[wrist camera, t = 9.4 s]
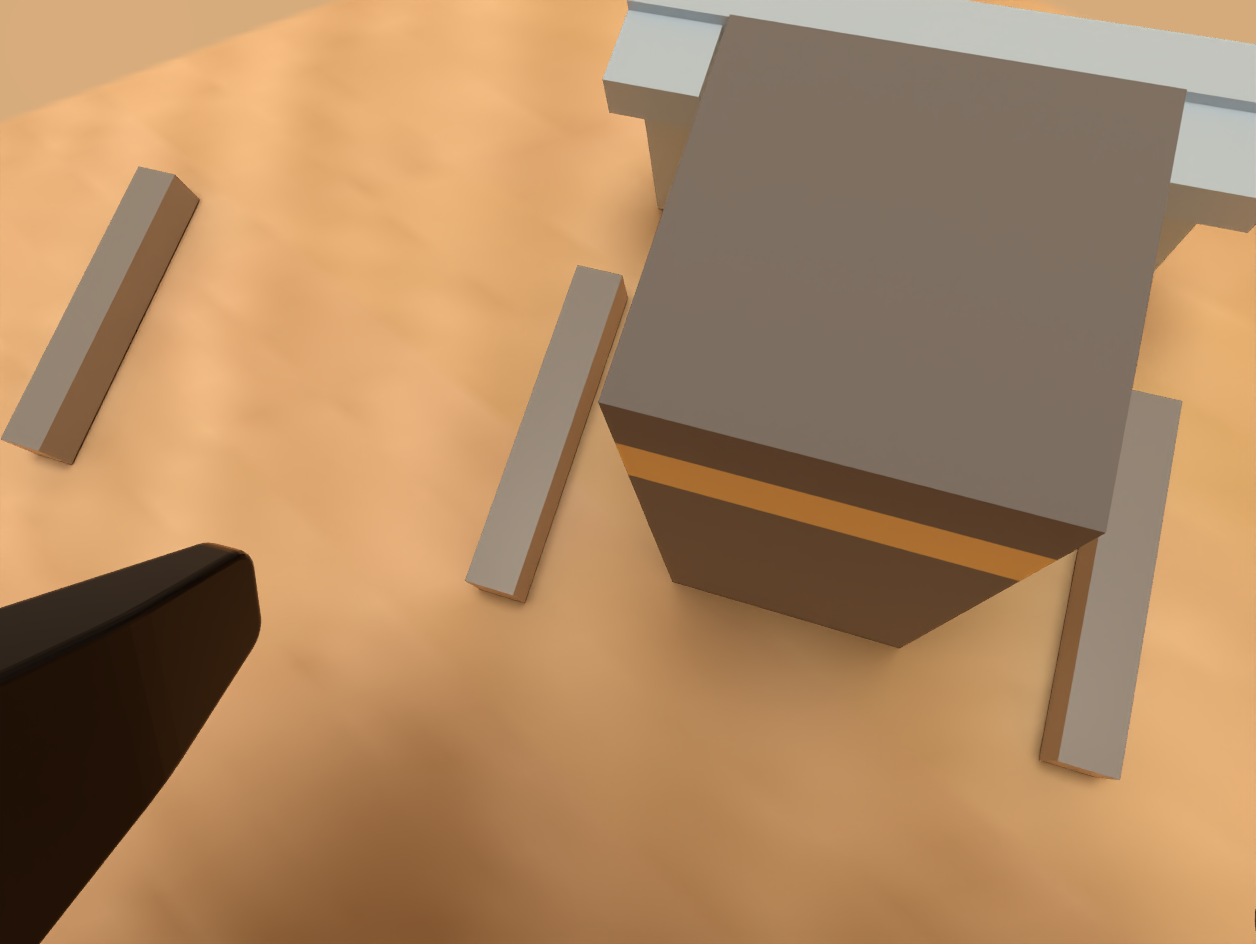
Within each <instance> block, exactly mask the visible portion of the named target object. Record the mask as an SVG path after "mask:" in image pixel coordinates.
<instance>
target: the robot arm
mask: <svg viewBox="0 0 1256 944" xmlns="http://www.w3.org/2000/svg"><path fill="white" fill-rule="evenodd" d="M260 627H261V614H260V607H259V600H258V592H257V585H256V578H255V570H254V565H253V561H252V560H251V558H250V556H249V555H248V554H247V553H245V552H244V551H242V550H238V549H235V548H231V547H227V546H223V545H219V544H215V543H201V544H198V545H195V546H192V547H188V548H185V549H182V550H179V551H176V552H173V553H170V554H167V555H164V556H160V557H157V558H154V559H151V560H148V561H145V562H142V563H139V564H136V565H132V566H129V567H126V568H123V569H120V570H117V571H114V572H111V573H107V574H104V575H101V576H98V577H95V578H92V579H89V580H86V581H83V582H79V583H76V584H73V585H70V586H67V587H64V588H61V589H58V590H55V591H51V592H48V593H45V594H42V595H39V596H36V597H33V598H30V599H27V600H23V601H20V602H17V603H14V604H11V605H8V606H5V607H2V608H0V944H40V943H41V941H42V940H43V939H44V938H45V936H46V935H47V934H48V933H49V931H50V930H51V929H52V927H53V926H54V925H55V924H56V922H57V921H58V920H59V919H60V917H61V916H62V915H63V914H64V912H65V911H66V910H67V908H68V907H69V906H70V905H71V903H72V902H73V901H74V900H75V898H76V897H77V896H78V894H79V893H80V892H81V891H82V889H83V888H84V887H85V886H86V884H87V883H88V882H89V881H90V879H91V878H92V877H93V875H94V874H95V873H96V872H97V870H98V869H99V868H100V867H101V865H102V864H103V863H104V861H105V860H106V859H107V858H108V856H109V855H110V854H111V853H112V851H113V850H114V849H115V847H116V846H117V845H118V844H119V842H120V841H121V840H122V839H123V837H124V836H125V835H126V834H127V832H128V831H129V830H130V828H131V827H132V826H133V825H134V823H135V822H136V821H137V820H138V818H139V817H140V816H141V814H142V813H143V812H144V811H145V809H146V808H147V807H148V806H149V804H150V803H151V802H152V800H153V799H154V798H155V796H156V795H157V794H158V792H159V791H160V790H161V788H162V787H163V786H164V784H165V783H166V782H167V780H168V779H169V777H170V776H171V774H172V773H173V771H174V770H175V768H176V767H177V766H178V764H179V763H180V761H181V760H182V758H183V757H184V755H185V754H186V752H187V750H188V749H189V747H190V746H191V744H192V743H193V741H194V739H195V738H196V736H197V735H198V733H199V732H200V730H201V729H202V727H203V725H204V724H205V722H206V721H207V719H208V718H209V716H210V714H211V713H212V711H213V710H214V708H215V707H216V705H217V704H218V702H219V700H220V699H221V697H222V696H223V694H224V693H225V691H226V689H227V688H228V686H229V685H230V683H231V682H232V680H233V679H234V677H235V675H236V674H237V672H238V671H239V669H240V668H241V666H242V664H243V663H244V661H245V660H246V658H247V657H248V655H249V654H250V652H251V650H252V649H253V647H254V645H255V643H256V641H257V639H258V636H259V632H260ZM1255 929H1256V911H1255Z"/></svg>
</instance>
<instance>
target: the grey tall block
mask: <svg viewBox="0 0 1256 944" xmlns="http://www.w3.org/2000/svg"><path fill="white" fill-rule="evenodd" d="M1186 92H1187V89H1182V88H1176V87H1170V86H1164V85H1158V84H1152V83H1146V82H1140V81H1134V80H1127V79H1121V78H1115V77H1109V76H1103V75H1097V74H1091V73H1085V72H1079V71H1073V70H1066V69H1060V68H1054V67H1048V66H1042V65H1036V64H1030V63H1024V62H1018V61H1012V60H1005V59H999V58H993V57H987V56H981V55H975V54H969V53H963V52H957V51H951V50H944V49H938V48H932V47H926V46H920V45H914V44H908V43H902V42H896V41H890V40H883V39H877V38H871V37H865V36H859V35H853V34H847V33H841V32H835V31H829V30H822V29H816V28H810V27H804V26H798V25H792V24H786V23H780V22H774V21H768V20H761V19H755V18H749V17H743V16H737V15H731V14H730V15H729V18H728V21H727V24H726V27H725V30H724V33H723V36H722V39H721V42H720V45H719V48H718V51H717V54H716V57H715V60H714V63H713V66H712V69H711V71H710V74H709V77H708V80H707V83H706V86H705V89H704V92H703V95H702V98H701V101H700V104H699V107H698V110H697V113H696V116H695V119H694V122H693V125H692V128H691V130H690V133H689V136H688V139H687V142H686V145H685V148H684V151H683V154H682V157H681V160H680V163H679V166H678V169H677V172H676V175H675V178H674V181H673V184H672V186H671V189H670V192H669V195H668V198H667V201H666V204H665V207H664V210H663V213H662V216H661V219H660V222H659V225H658V228H657V231H656V234H655V237H654V240H653V242H652V245H651V248H650V251H649V254H648V257H647V260H646V263H645V266H644V269H643V272H642V275H641V278H640V281H639V284H638V287H637V290H636V293H635V296H634V299H633V301H632V304H631V307H630V310H629V313H628V316H627V319H626V322H625V325H624V328H623V331H622V334H621V337H620V340H619V343H618V346H617V349H616V352H615V355H614V357H613V360H612V363H611V366H610V369H609V372H608V375H607V378H606V381H605V384H604V387H603V390H602V393H601V396H600V399H599V402H598V403H599V405H600V408H601V410H602V412H603V415H604V417H605V420H606V422H607V424H608V427H609V429H610V432H611V434H612V437H613V439H614V441H615V444H616V446H617V449H618V451H619V453H620V456H621V458H622V461H623V463H624V466H625V468H626V470H627V473H628V475H629V478H630V480H631V482H632V485H633V487H634V490H635V492H636V495H637V497H638V499H639V502H640V504H641V507H642V509H643V511H644V514H645V516H646V519H647V521H648V524H649V526H650V528H651V531H652V533H653V536H654V538H655V540H656V543H657V545H658V548H659V550H660V553H661V555H662V557H663V560H664V562H665V565H666V567H667V569H668V572H669V574H670V577H671V579H672V582H675V583H679V584H682V585H686V586H689V587H692V588H696V589H699V590H703V591H706V592H710V593H713V594H716V595H720V596H723V597H727V598H730V599H733V600H737V601H740V602H744V603H747V604H750V605H754V606H757V607H761V608H764V609H767V610H771V611H774V612H778V613H781V614H785V615H788V616H791V617H795V618H798V619H802V620H805V621H808V622H812V623H815V624H819V625H822V626H825V627H829V628H832V629H836V630H839V631H842V632H846V633H849V634H853V635H856V636H860V637H863V638H866V639H870V640H873V641H877V642H880V643H883V644H887V645H890V646H894V647H897V648H901V647H903V646H904V645H906V644H908V643H910V642H912V641H913V640H915V639H917V638H919V637H921V636H922V635H924V634H926V633H928V632H930V631H931V630H933V629H935V628H937V627H938V626H940V625H942V624H944V623H946V622H947V621H949V620H951V619H953V618H955V617H956V616H958V615H960V614H962V613H963V612H965V611H967V610H969V609H971V608H972V607H974V606H976V605H978V604H980V603H981V602H983V601H985V600H987V599H989V598H990V597H992V596H994V595H996V594H997V593H999V592H1001V591H1003V590H1005V589H1006V588H1008V587H1010V586H1012V585H1014V584H1015V583H1017V582H1019V581H1021V580H1023V579H1024V578H1026V577H1028V576H1030V575H1031V574H1033V573H1035V572H1037V571H1039V570H1040V569H1042V568H1044V567H1046V566H1048V565H1049V564H1051V563H1053V562H1055V561H1056V560H1058V559H1060V558H1062V557H1064V556H1065V555H1067V554H1069V553H1071V552H1073V551H1074V550H1076V549H1078V548H1080V547H1082V546H1083V545H1085V544H1087V543H1089V542H1090V541H1092V540H1094V539H1096V538H1098V537H1099V536H1101V535H1103V534H1105V533H1106V530H1107V524H1108V519H1109V513H1110V508H1111V502H1112V497H1113V491H1114V486H1115V481H1116V475H1117V470H1118V464H1119V459H1120V453H1121V448H1122V442H1123V437H1124V431H1125V426H1126V420H1127V415H1128V409H1129V404H1130V399H1131V393H1132V388H1133V382H1134V377H1135V371H1136V366H1137V360H1138V355H1139V349H1140V344H1141V338H1142V333H1143V327H1144V322H1145V317H1146V311H1147V306H1148V300H1149V295H1150V289H1151V284H1152V278H1153V273H1154V267H1155V262H1156V256H1157V251H1158V245H1159V240H1160V235H1161V229H1162V224H1163V218H1164V213H1165V207H1166V202H1167V196H1168V191H1169V185H1170V180H1171V174H1172V169H1173V163H1174V158H1175V153H1176V147H1177V142H1178V136H1179V131H1180V125H1181V120H1182V114H1183V109H1184V103H1185V98H1186Z"/></svg>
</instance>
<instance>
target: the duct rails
mask: <svg viewBox="0 0 1256 944" xmlns="http://www.w3.org/2000/svg"><path fill="white" fill-rule="evenodd" d="M627 3H628V12H627V15H626V18H625V20H624V23H623V26H622V28H621V31H620V34H619V37H618V39H617V42H616V45H615V47H614V50H613V53H612V55H611V58H610V61H609V64H608V66H607V69H606V72H605V74H604V77H603V84H604V89H605V93H606V98H607V103H608V108H609V113H615V114H620V115H625V116H631V117H636V118H641V119H645V124H646V131H647V138H648V145H649V151H650V158H651V165H652V171H653V178H654V185H655V192H656V198H657V205H658V208H659V209H664V207H665V204H666V201H667V198H668V195H669V192H670V189H671V186H672V184H673V181H674V178H675V175H676V172H677V169H678V166H679V163H680V160H681V157H682V154H683V151H684V148H685V145H686V142H687V139H688V136H689V133H690V130H691V128H692V125H693V122H694V119H695V116H696V113H697V110H698V107H699V104H700V101H701V98H702V95H703V92H704V89H705V86H706V83H707V80H708V77H709V74H710V71H711V69H712V66H713V63H714V60H715V57H716V54H717V51H718V48H719V45H720V42H721V39H722V36H723V33H724V30H725V27H726V24H727V21H728V18H729V15H730V14H731V15H737V16H743V17H749V18H755V19H761V20H768V21H774V22H780V23H786V24H792V25H798V26H804V27H810V28H816V29H822V30H829V31H835V32H841V33H847V34H853V35H859V36H865V37H871V38H877V39H883V40H890V41H896V42H902V43H908V44H914V45H920V46H926V47H932V48H938V49H944V50H951V51H957V52H963V53H969V54H975V55H981V56H987V57H993V58H999V59H1005V60H1012V61H1018V62H1024V63H1030V64H1036V65H1042V66H1048V67H1054V68H1060V69H1066V70H1073V71H1079V72H1085V73H1091V74H1097V75H1103V76H1109V77H1115V78H1121V79H1127V80H1134V81H1140V82H1146V83H1152V84H1158V85H1164V86H1170V87H1176V88H1182V89H1187V92H1186V98H1185V103H1184V109H1183V114H1182V120H1181V125H1180V131H1179V136H1178V142H1177V147H1176V153H1175V158H1174V163H1173V169H1172V174H1171V180H1170V185H1169V191H1168V196H1167V202H1166V207H1165V213H1164V218H1163V224H1162V229H1161V235H1160V240H1159V245H1158V251H1157V256H1156V262H1155V267H1154V271H1155V270H1156V269H1157V268H1158V266H1159V265H1160V264H1161V263H1162V262H1163V261H1164V260H1165V259H1166V257H1167V256H1168V255H1169V254H1170V253H1171V252H1172V251H1173V250H1174V249H1175V247H1176V246H1177V245H1178V244H1179V243H1180V242H1181V241H1182V240H1183V238H1184V237H1185V236H1186V235H1187V234H1188V233H1189V232H1190V231H1191V229H1192V228H1193V227H1194V226H1195V225H1196V224H1203V225H1208V226H1213V227H1218V228H1224V229H1229V230H1234V231H1240V232H1245V233H1248V232H1249V231H1250V230H1251V229H1252V228H1253V227H1254V226H1255V225H1256V44H1251V43H1245V42H1238V41H1232V40H1225V39H1218V38H1212V37H1205V36H1199V35H1192V34H1186V33H1179V32H1172V31H1166V30H1159V29H1152V28H1145V27H1139V26H1132V25H1125V24H1119V23H1113V22H1106V21H1100V20H1093V19H1086V18H1080V17H1073V16H1067V15H1060V14H1053V13H1047V12H1040V11H1034V10H1027V9H1020V8H1014V7H1007V6H1000V5H994V4H987V3H981V2H974V1H967V0H627ZM198 201H199V198H198V197H197V196H196V195H195V194H194V193H193V192H192V191H191V190H190V189H189V188H188V187H187V186H186V185H185V184H184V183H183V182H182V181H181V180H180V179H179V178H178V177H177V176H176V175H174V174H170V173H166V172H161V171H157V170H152V169H148V168H143V167H138V169H137V171H136V173H135V175H134V177H133V179H132V181H131V183H130V185H129V186H128V188H127V190H126V192H125V194H124V196H123V198H122V200H121V202H120V204H119V206H118V208H117V210H116V212H115V214H114V216H113V218H112V220H111V222H110V224H109V226H108V228H107V230H106V232H105V234H104V236H103V238H102V240H101V242H100V244H99V246H98V248H97V250H96V252H95V254H94V256H93V258H92V260H91V262H90V263H89V265H88V267H87V269H86V271H85V273H84V275H83V277H82V279H81V281H80V283H79V285H78V287H77V289H76V291H75V293H74V295H73V297H72V299H71V301H70V303H69V305H68V307H67V309H66V311H65V313H64V315H63V317H62V319H61V321H60V323H59V325H58V327H57V329H56V331H55V333H54V335H53V337H52V339H51V340H50V342H49V344H48V346H47V348H46V350H45V352H44V354H43V356H42V358H41V360H40V362H39V364H38V366H37V368H36V370H35V372H34V374H33V376H32V378H31V380H30V382H29V384H28V386H27V388H26V390H25V392H24V394H23V396H22V398H21V400H20V402H19V404H18V406H17V408H16V410H15V412H14V414H13V416H12V417H11V419H10V421H9V423H8V425H7V427H6V429H5V431H4V433H3V435H2V437H1V440H3V441H6V442H8V443H11V444H13V445H15V446H18V447H20V448H23V449H25V450H28V451H30V452H33V453H35V454H39V455H42V456H45V457H48V458H52V459H55V460H58V461H61V462H65V463H68V464H72V462H73V460H74V458H75V456H76V454H77V452H78V450H79V448H80V446H81V444H82V442H83V440H84V437H85V435H86V433H87V431H88V429H89V427H90V425H91V423H92V421H93V419H94V417H95V415H96V413H97V411H98V408H99V406H100V404H101V402H102V400H103V398H104V396H105V394H106V392H107V390H108V388H109V386H110V384H111V382H112V379H113V377H114V375H115V373H116V371H117V369H118V367H119V365H120V363H121V361H122V359H123V357H124V355H125V352H126V350H127V348H128V346H129V344H130V342H131V340H132V338H133V336H134V334H135V332H136V330H137V328H138V326H139V323H140V321H141V319H142V317H143V315H144V313H145V311H146V309H147V307H148V305H149V303H150V301H151V299H152V296H153V294H154V292H155V290H156V288H157V286H158V284H159V282H160V280H161V278H162V276H163V274H164V272H165V270H166V267H167V265H168V263H169V261H170V259H171V257H172V255H173V253H174V251H175V249H176V247H177V245H178V243H179V241H180V238H181V236H182V234H183V232H184V230H185V228H186V226H187V224H188V222H189V220H190V218H191V216H192V214H193V211H194V209H195V207H196V205H197V203H198ZM627 298H628V296H627V292H626V288H625V284H624V280H623V276H622V275H619V274H615V273H610V272H606V271H601V270H597V269H593V268H588V267H584V266H579V265H577V268H576V271H575V274H574V276H573V279H572V282H571V285H570V288H569V290H568V293H567V296H566V299H565V302H564V304H563V307H562V310H561V313H560V316H559V318H558V321H557V324H556V327H555V330H554V332H553V335H552V338H551V341H550V344H549V346H548V349H547V352H546V355H545V358H544V360H543V363H542V366H541V369H540V372H539V375H538V377H537V380H536V383H535V386H534V389H533V391H532V394H531V397H530V400H529V403H528V405H527V408H526V411H525V414H524V417H523V419H522V422H521V425H520V428H519V431H518V433H517V436H516V439H515V442H514V445H513V447H512V450H511V453H510V456H509V459H508V461H507V464H506V467H505V470H504V473H503V475H502V478H501V481H500V484H499V487H498V489H497V492H496V495H495V498H494V501H493V504H492V506H491V509H490V512H489V515H488V518H487V520H486V523H485V526H484V529H483V532H482V534H481V537H480V540H479V543H478V546H477V548H476V551H475V554H474V557H473V560H472V562H471V565H470V568H469V571H468V574H467V576H466V579H465V581H466V582H468V583H470V584H471V585H473V586H475V587H477V588H478V589H481V590H484V591H487V592H491V593H494V594H497V595H501V596H504V597H507V598H510V599H514V600H517V601H520V602H523V603H525V600H526V597H527V594H528V592H529V589H530V586H531V583H532V580H533V577H534V574H535V571H536V568H537V565H538V562H539V559H540V556H541V553H542V550H543V547H544V544H545V541H546V538H547V535H548V532H549V529H550V526H551V523H552V520H553V517H554V515H555V512H556V509H557V506H558V503H559V500H560V497H561V494H562V491H563V488H564V485H565V482H566V479H567V476H568V473H569V470H570V467H571V464H572V461H573V458H574V455H575V452H576V449H577V446H578V443H579V441H580V438H581V435H582V432H583V429H584V426H585V423H586V420H587V417H588V414H589V411H590V408H591V405H592V402H593V399H594V396H595V393H596V390H597V387H598V384H599V381H600V378H601V375H602V372H603V369H604V367H605V364H606V361H607V358H608V355H609V352H610V349H611V346H612V343H613V340H614V337H615V334H616V331H617V328H618V325H619V322H620V319H621V316H622V313H623V310H624V307H625V304H626V301H627ZM1181 406H1182V401H1180V400H1175V399H1171V398H1166V397H1162V396H1157V395H1153V394H1149V393H1144V392H1140V391H1135V390H1132V393H1131V399H1130V404H1129V409H1128V415H1127V420H1126V426H1125V431H1124V437H1123V442H1122V448H1121V453H1120V459H1119V464H1118V470H1117V475H1116V481H1115V486H1114V491H1113V497H1112V502H1111V508H1110V513H1109V519H1108V524H1107V530H1106V533H1105V534H1103V535H1101V536H1099V537H1098V538H1096V539H1094V540H1092V541H1090V542H1089V543H1087V544H1085V545H1083V546H1082V547H1080V548H1078V554H1077V559H1076V564H1075V570H1074V575H1073V580H1072V586H1071V591H1070V596H1069V602H1068V607H1067V612H1066V618H1065V623H1064V628H1063V634H1062V639H1061V645H1060V650H1059V655H1058V661H1057V666H1056V671H1055V677H1054V682H1053V687H1052V693H1051V698H1050V703H1049V709H1048V714H1047V720H1046V725H1045V730H1044V736H1043V741H1042V746H1041V752H1040V757H1039V760H1041V761H1044V762H1048V763H1051V764H1054V765H1058V766H1061V767H1064V768H1067V769H1071V770H1074V771H1077V772H1081V773H1084V774H1087V775H1090V776H1094V777H1097V778H1106V779H1115V780H1120V777H1121V771H1122V765H1123V759H1124V753H1125V747H1126V741H1127V735H1128V729H1129V723H1130V717H1131V710H1132V704H1133V698H1134V692H1135V686H1136V680H1137V674H1138V668H1139V662H1140V656H1141V650H1142V643H1143V637H1144V631H1145V625H1146V619H1147V613H1148V607H1149V601H1150V595H1151V589H1152V583H1153V577H1154V570H1155V564H1156V558H1157V552H1158V546H1159V540H1160V534H1161V528H1162V522H1163V516H1164V510H1165V503H1166V497H1167V491H1168V485H1169V479H1170V473H1171V467H1172V461H1173V455H1174V449H1175V443H1176V436H1177V430H1178V424H1179V418H1180V412H1181Z"/></svg>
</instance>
